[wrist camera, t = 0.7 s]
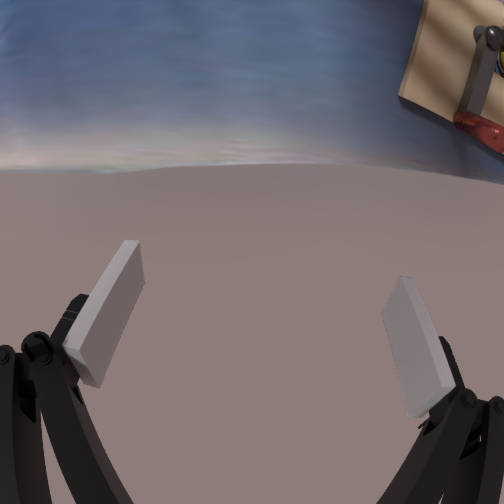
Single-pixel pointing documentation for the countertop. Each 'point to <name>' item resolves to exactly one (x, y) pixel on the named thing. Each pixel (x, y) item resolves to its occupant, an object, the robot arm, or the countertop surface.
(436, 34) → the tan flat square sheet
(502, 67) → the pill bottle
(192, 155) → the countertop surface
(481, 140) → the lever
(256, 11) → the countertop surface
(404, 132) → the countertop surface
